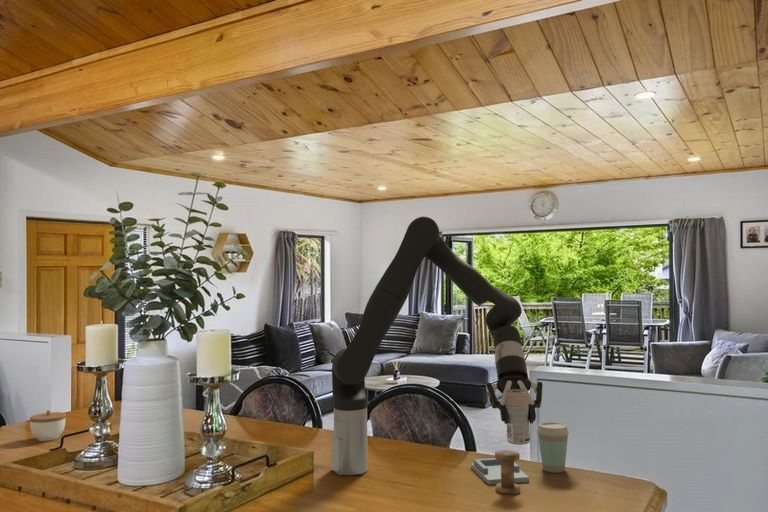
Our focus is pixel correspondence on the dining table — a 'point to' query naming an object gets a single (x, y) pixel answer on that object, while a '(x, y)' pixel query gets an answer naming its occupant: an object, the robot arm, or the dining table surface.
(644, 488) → the dining table surface
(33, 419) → the lidded jar
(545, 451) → the coffee cup
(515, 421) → the energy drink
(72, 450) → the dining table surface
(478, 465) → the notched board
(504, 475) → the bobbin
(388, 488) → the dining table surface
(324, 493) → the dining table surface
